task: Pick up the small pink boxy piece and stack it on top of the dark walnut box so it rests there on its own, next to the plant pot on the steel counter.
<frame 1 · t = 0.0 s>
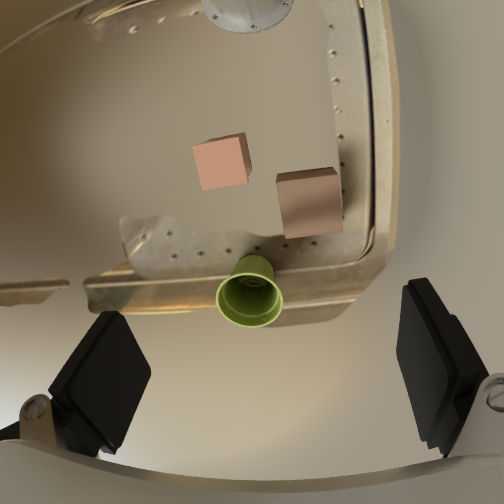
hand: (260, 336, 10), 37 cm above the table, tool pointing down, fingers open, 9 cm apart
pink boxy piece: (229, 154, 43), on the table
walnut box: (308, 196, 45), on the table
plant pot: (255, 270, 52), on the table
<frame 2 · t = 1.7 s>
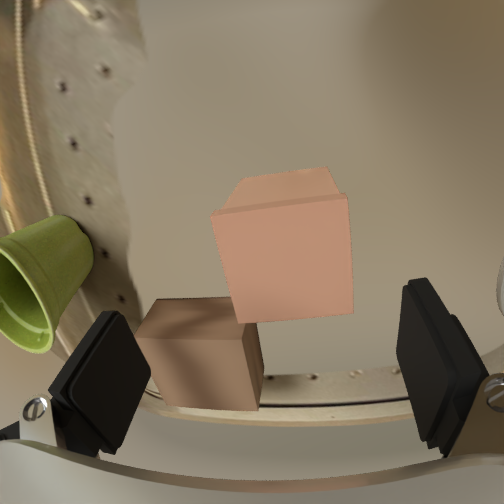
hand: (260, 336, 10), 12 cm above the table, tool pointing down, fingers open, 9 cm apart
pink boxy piece: (290, 212, 20), on the table
walnut box: (212, 335, 26), on the table
plant pot: (69, 246, 24), on the table
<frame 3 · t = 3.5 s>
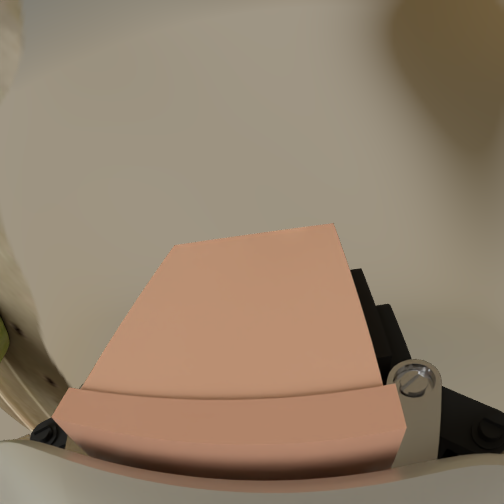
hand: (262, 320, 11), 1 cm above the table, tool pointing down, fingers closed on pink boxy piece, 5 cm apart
pink boxy piece: (264, 301, 11), on the table, touching gripper
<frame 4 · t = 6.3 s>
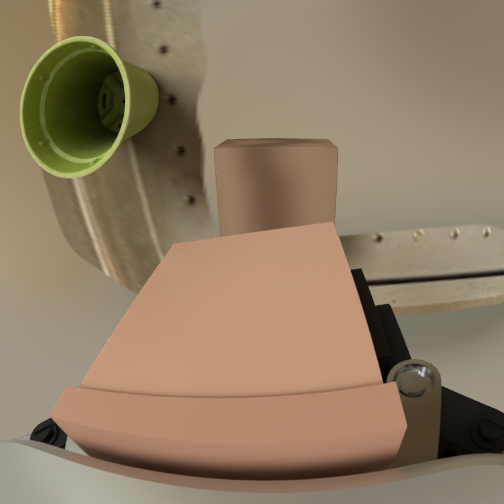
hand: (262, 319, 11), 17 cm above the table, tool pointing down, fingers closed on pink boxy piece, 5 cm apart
pink boxy piece: (264, 300, 11), point 16 cm above the table, touching gripper
walnut box: (278, 186, 26), on the table
plant pot: (128, 101, 23), on the table
when the fingers open (7 cm above the table, at t = 9.2 s): pink boxy piece stays where it is, point 5 cm above the table.
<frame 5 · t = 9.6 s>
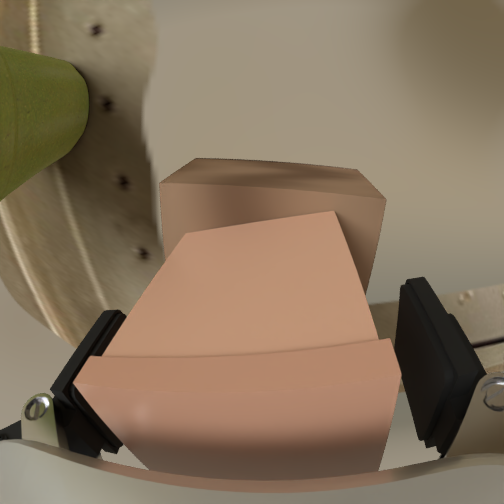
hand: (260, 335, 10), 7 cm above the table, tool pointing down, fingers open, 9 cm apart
pink boxy piece: (270, 286, 12), point 5 cm above the table
walnut box: (271, 236, 17), on the table
plant pot: (53, 110, 14), on the table
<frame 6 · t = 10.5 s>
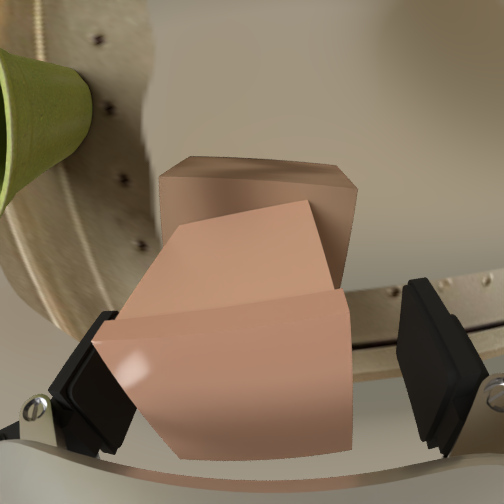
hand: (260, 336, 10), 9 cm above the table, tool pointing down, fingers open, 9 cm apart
pink boxy piece: (256, 270, 14), point 5 cm above the table, touching walnut box
walnut box: (258, 227, 18), on the table, touching pink boxy piece
plant pot: (58, 114, 16), on the table
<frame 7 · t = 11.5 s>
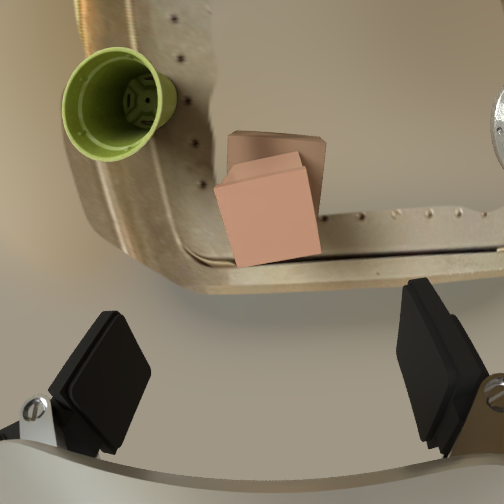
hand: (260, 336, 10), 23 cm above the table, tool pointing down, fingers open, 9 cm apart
pink boxy piece: (273, 188, 26), point 5 cm above the table
walnut box: (275, 172, 31), on the table
plant pot: (150, 101, 28), on the table
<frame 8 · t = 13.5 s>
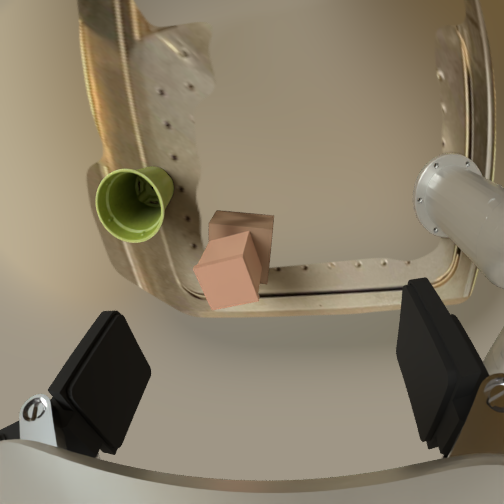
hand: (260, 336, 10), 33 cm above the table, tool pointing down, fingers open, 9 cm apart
pink boxy piece: (235, 254, 41), point 5 cm above the table, touching walnut box
walnut box: (243, 238, 46), on the table, touching pink boxy piece
plant pot: (154, 187, 43), on the table
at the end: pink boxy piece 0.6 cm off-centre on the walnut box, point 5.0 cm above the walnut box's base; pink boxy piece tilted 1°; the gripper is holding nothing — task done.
